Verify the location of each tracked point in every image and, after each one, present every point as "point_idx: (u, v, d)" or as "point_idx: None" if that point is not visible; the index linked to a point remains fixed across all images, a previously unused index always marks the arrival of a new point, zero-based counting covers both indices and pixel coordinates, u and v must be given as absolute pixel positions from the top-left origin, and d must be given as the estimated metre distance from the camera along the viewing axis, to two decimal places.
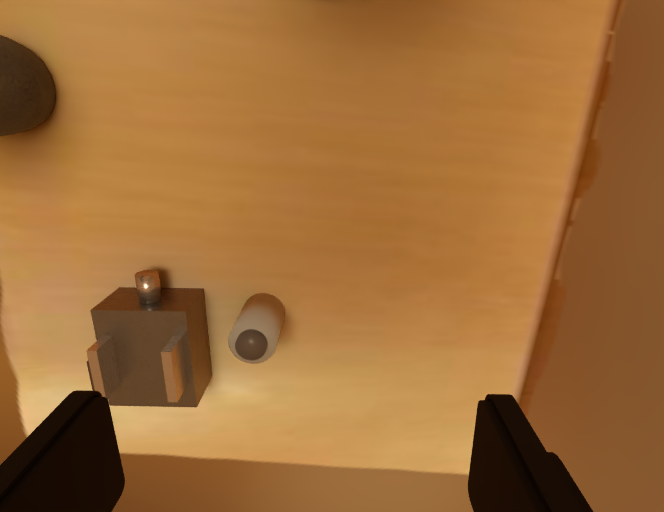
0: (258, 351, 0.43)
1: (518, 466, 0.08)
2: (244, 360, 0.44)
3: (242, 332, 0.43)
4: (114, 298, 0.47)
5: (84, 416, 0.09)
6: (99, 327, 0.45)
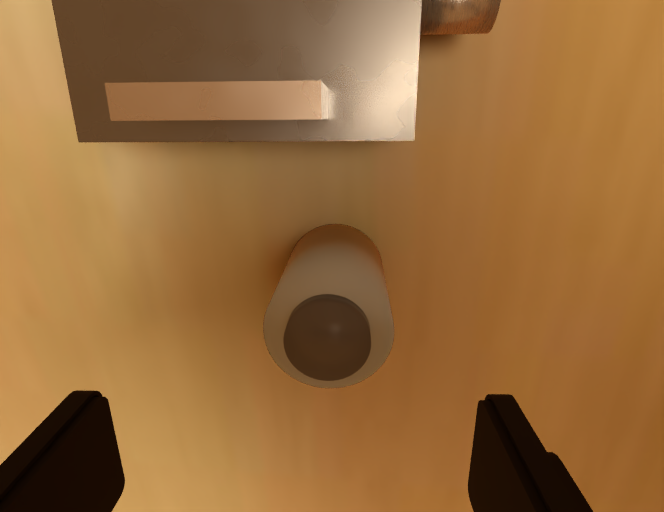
0: (313, 361, 0.16)
1: (518, 466, 0.08)
2: (271, 309, 0.16)
3: (359, 309, 0.16)
4: None
5: (84, 416, 0.09)
6: None
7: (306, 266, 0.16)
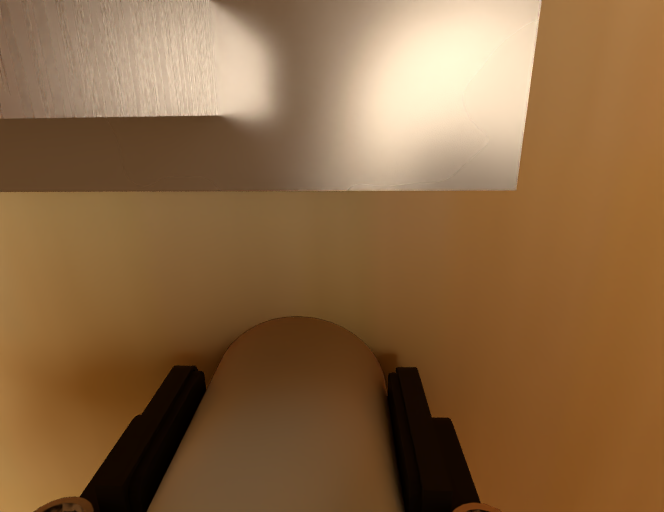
0: None
1: (403, 425, 0.09)
2: None
3: None
4: None
5: (190, 387, 0.10)
6: None
7: None
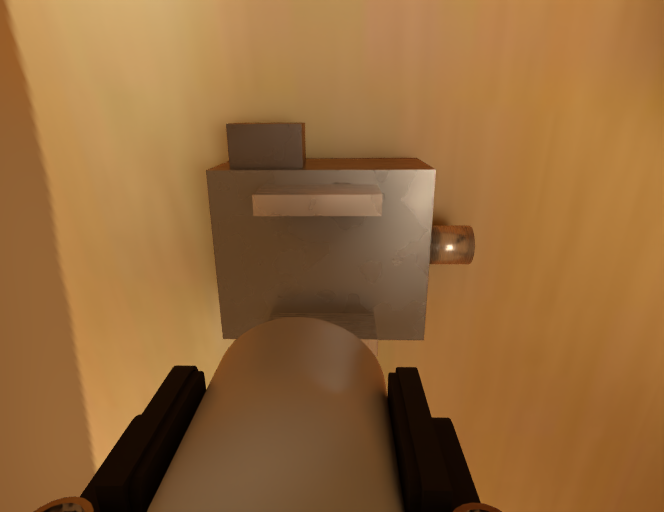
0: None
1: (403, 425, 0.09)
2: None
3: None
4: None
5: (190, 387, 0.10)
6: (396, 180, 0.22)
7: None
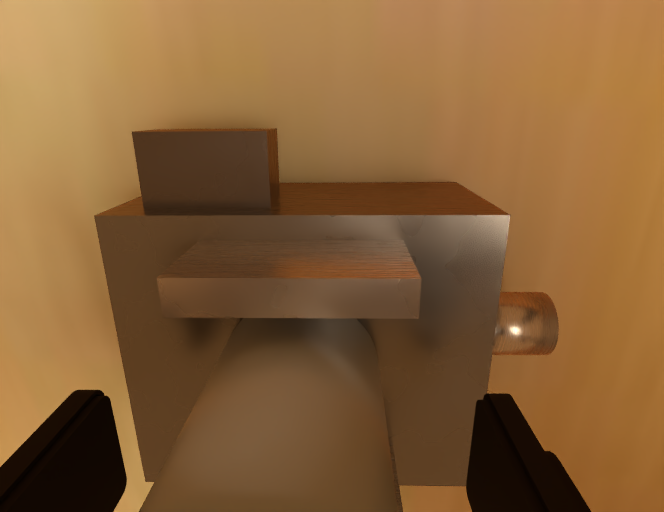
0: None
1: (516, 465, 0.08)
2: None
3: None
4: None
5: (86, 415, 0.09)
6: (437, 234, 0.12)
7: (213, 449, 0.07)
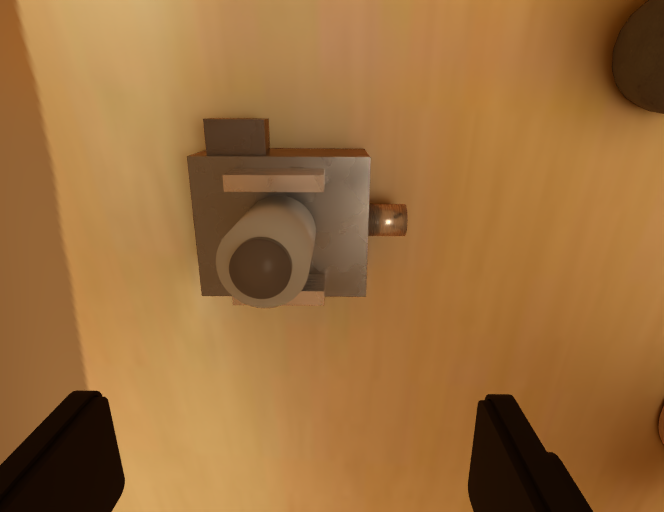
0: (250, 284, 0.22)
1: (518, 466, 0.08)
2: (221, 246, 0.22)
3: (284, 248, 0.22)
4: None
5: (84, 416, 0.09)
6: (339, 166, 0.28)
7: (248, 218, 0.23)
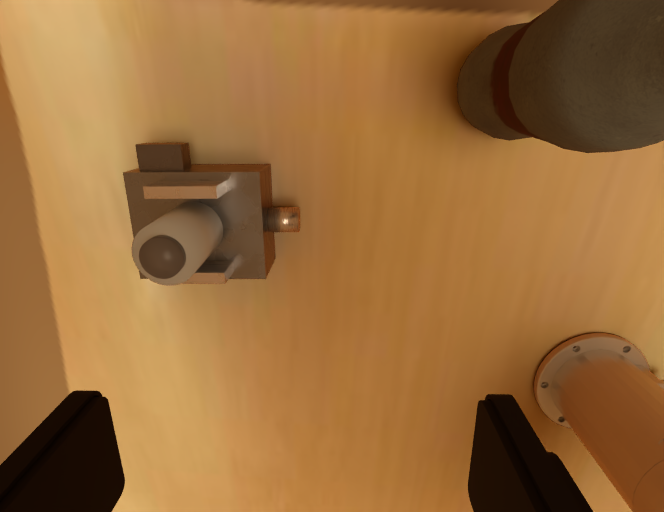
0: (154, 268, 0.31)
1: (518, 466, 0.08)
2: (135, 241, 0.31)
3: (179, 243, 0.31)
4: (265, 178, 0.40)
5: (84, 416, 0.09)
6: (236, 178, 0.37)
7: (156, 221, 0.32)
